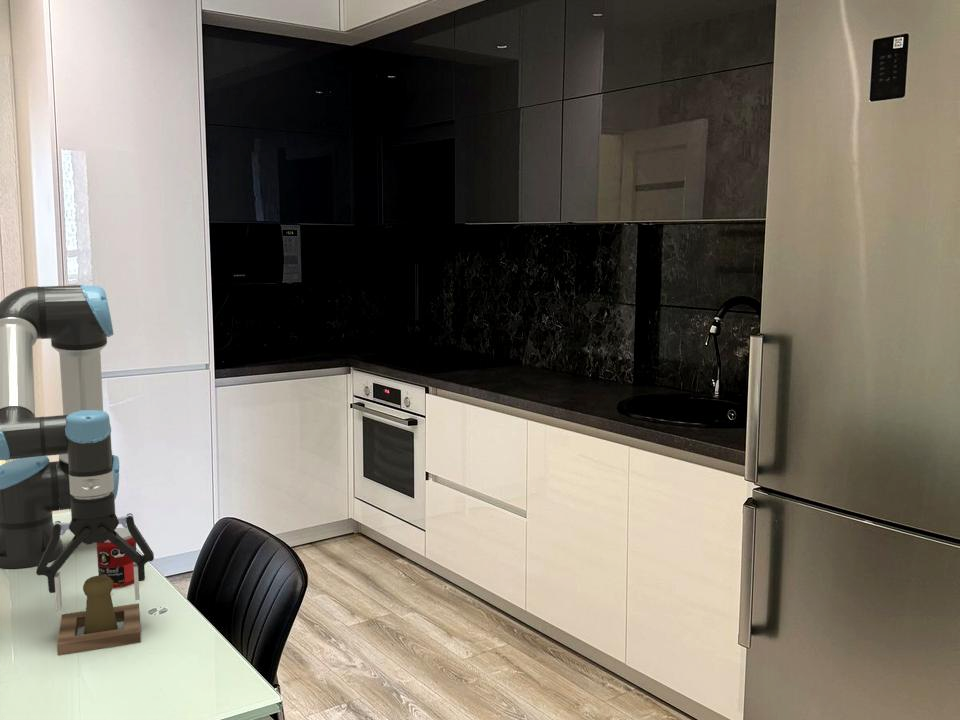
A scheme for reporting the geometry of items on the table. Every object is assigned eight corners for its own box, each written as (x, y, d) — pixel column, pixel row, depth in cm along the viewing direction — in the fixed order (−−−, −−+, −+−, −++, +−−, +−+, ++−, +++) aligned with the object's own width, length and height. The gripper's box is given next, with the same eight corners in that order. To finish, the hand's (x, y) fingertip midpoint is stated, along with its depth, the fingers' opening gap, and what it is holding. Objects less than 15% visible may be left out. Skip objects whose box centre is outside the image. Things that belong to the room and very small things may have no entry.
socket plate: (62, 623, 172) (62, 614, 171) (139, 612, 177) (139, 603, 177) (57, 655, 159) (56, 644, 159) (140, 642, 164) (140, 632, 164)
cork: (105, 641, 164) (102, 585, 163) (76, 638, 166) (73, 582, 164) (124, 627, 170) (121, 572, 169) (96, 624, 171) (93, 570, 170)
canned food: (91, 586, 190) (88, 537, 189) (117, 573, 198) (115, 525, 196) (119, 590, 188) (116, 541, 186) (145, 577, 195) (143, 529, 194)
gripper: (14, 507, 156) (23, 620, 159) (164, 492, 165) (169, 600, 168) (19, 495, 163) (27, 605, 166) (162, 482, 172) (167, 585, 175)
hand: (99, 602), depth 167 cm, fingers open, 13 cm apart
